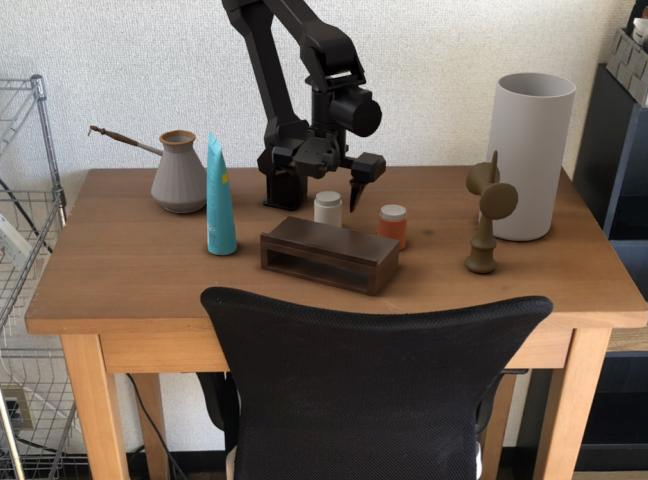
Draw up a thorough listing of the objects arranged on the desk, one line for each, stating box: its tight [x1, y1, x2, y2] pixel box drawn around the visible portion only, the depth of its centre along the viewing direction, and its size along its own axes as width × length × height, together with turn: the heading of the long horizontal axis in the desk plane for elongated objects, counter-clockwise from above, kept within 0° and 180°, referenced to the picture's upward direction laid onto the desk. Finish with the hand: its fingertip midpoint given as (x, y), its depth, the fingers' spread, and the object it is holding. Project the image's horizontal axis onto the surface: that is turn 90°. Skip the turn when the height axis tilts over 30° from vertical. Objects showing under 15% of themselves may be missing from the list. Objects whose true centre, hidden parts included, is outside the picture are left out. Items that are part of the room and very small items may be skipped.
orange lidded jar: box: [377, 204, 408, 251], centre depth 142 cm, size 5×5×6 cm
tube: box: [206, 130, 238, 256], centre depth 137 cm, size 7×5×19 cm, turn 26°
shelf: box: [259, 215, 400, 297], centre depth 136 cm, size 20×10×6 cm, turn 64°
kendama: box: [464, 150, 518, 274], centre depth 132 cm, size 6×10×20 cm, turn 8°
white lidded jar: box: [313, 190, 343, 228], centre depth 146 cm, size 5×5×6 cm
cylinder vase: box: [478, 71, 577, 242], centre depth 143 cm, size 12×12×25 cm
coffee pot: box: [87, 124, 207, 214], centre depth 152 cm, size 21×12×15 cm, turn 91°
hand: (327, 206), depth 146 cm, fingers open, 9 cm apart
